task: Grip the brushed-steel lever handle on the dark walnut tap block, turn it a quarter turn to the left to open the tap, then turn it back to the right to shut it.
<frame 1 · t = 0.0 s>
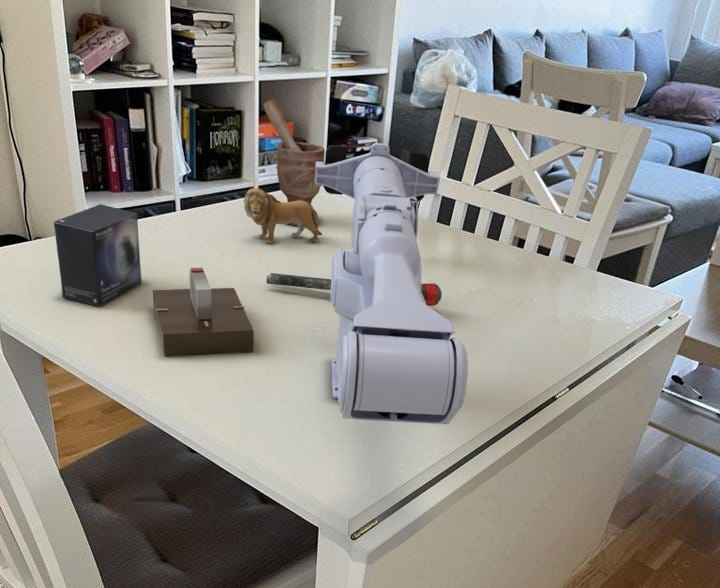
hand: (373, 155, 95), 22 cm above the table, tool horizontal, fingers open, 7 cm apart
small box: (104, 292, 107), on the table
grey and red tool: (355, 297, 114), on the table
lion figurine: (281, 242, 132), on the table
mortar and pestle: (289, 220, 142), on the table
tap block: (201, 330, 99), on the table
tap handle: (200, 293, 96), point 5 cm above the table, hinge at 0.0°
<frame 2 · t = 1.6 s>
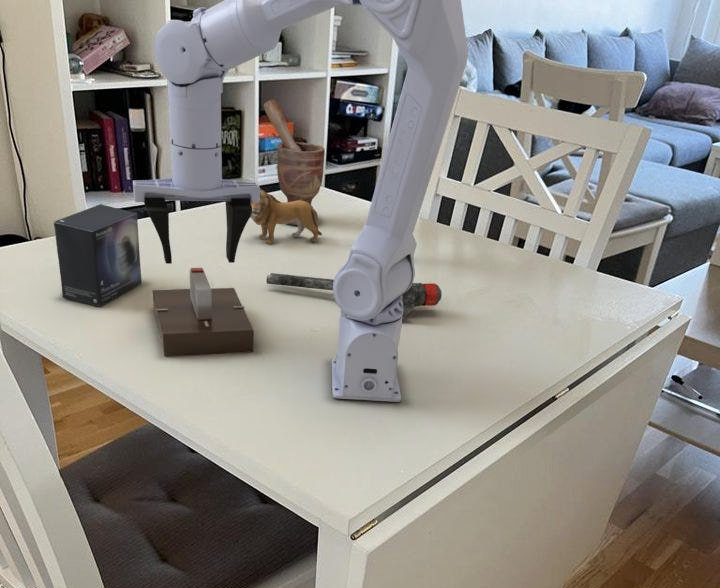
hand: (199, 260, 94), 9 cm above the table, tool pointing down, fingers open, 7 cm apart
nothing on the table moved.
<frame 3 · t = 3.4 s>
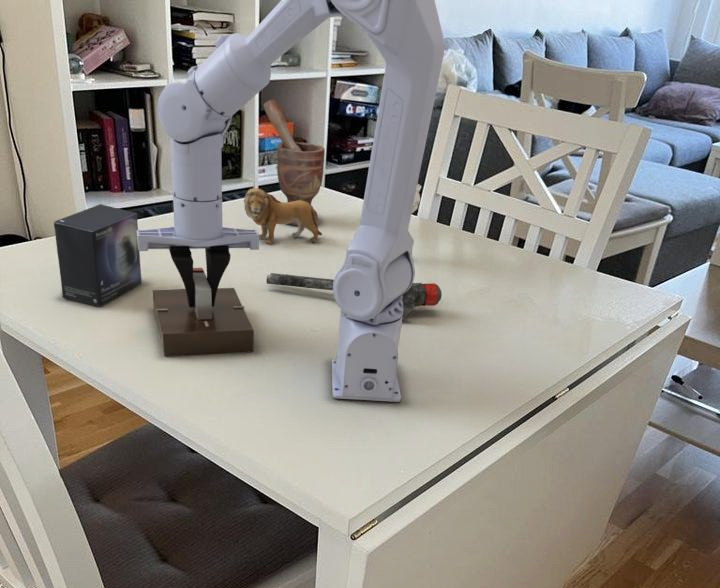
hand: (201, 304, 97), 4 cm above the table, tool pointing down, fingers closed on tap handle, 2 cm apart
tap handle: (200, 293, 96), point 5 cm above the table, hinge at -0.1°, touching gripper
everything else where it was.
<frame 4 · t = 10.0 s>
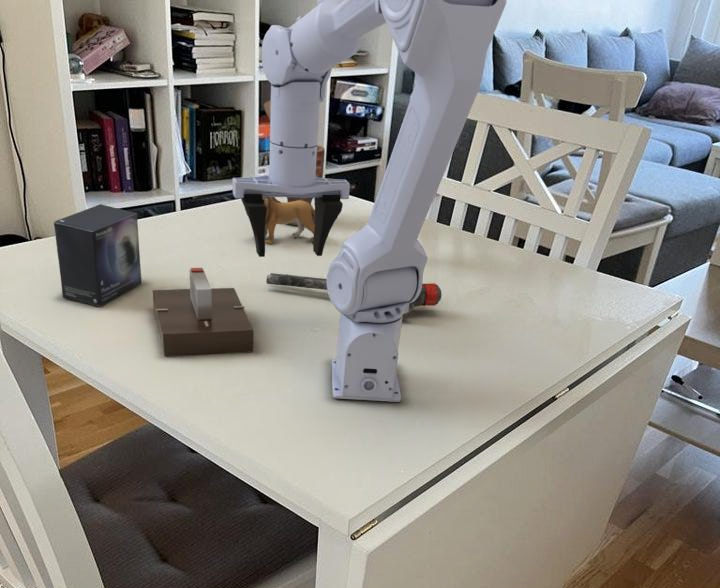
hand: (289, 253, 99), 9 cm above the table, tool pointing down, fingers open, 7 cm apart
tap handle: (200, 293, 96), point 5 cm above the table, hinge at 0.1°
everything else where it was.
at the end: tap handle reached +90° during the clip, +0° at the end; tap handle at +0° (first picture: +0°) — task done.
